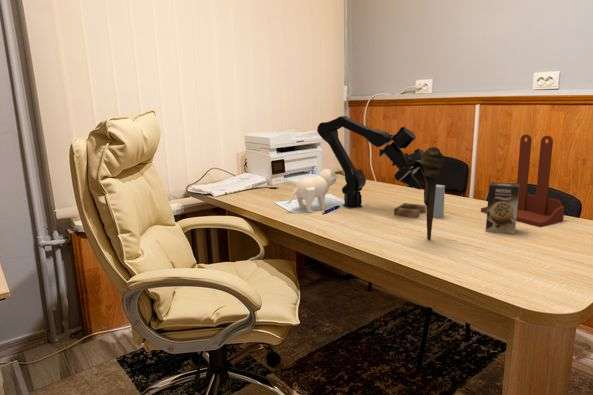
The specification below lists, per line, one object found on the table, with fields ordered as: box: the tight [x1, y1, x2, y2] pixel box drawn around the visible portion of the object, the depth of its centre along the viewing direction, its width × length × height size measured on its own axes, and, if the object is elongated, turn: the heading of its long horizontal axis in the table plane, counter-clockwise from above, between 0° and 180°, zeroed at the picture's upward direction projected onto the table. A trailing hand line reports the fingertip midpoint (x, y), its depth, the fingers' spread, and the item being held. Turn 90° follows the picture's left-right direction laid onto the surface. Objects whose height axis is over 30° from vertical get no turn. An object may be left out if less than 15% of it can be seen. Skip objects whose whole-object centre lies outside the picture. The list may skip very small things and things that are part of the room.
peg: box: [433, 184, 446, 219], centre depth 161 cm, size 4×4×12 cm
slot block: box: [393, 202, 427, 219], centre depth 168 cm, size 9×10×2 cm
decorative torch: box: [420, 146, 445, 241], centre depth 134 cm, size 7×7×30 cm
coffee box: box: [484, 181, 520, 235], centre depth 142 cm, size 9×6×16 cm
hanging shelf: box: [480, 134, 566, 228], centre depth 155 cm, size 24×13×30 cm, turn 27°
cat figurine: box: [285, 167, 338, 213], centre depth 178 cm, size 25×10×17 cm, turn 115°
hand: (424, 186), depth 163 cm, fingers open, 9 cm apart
